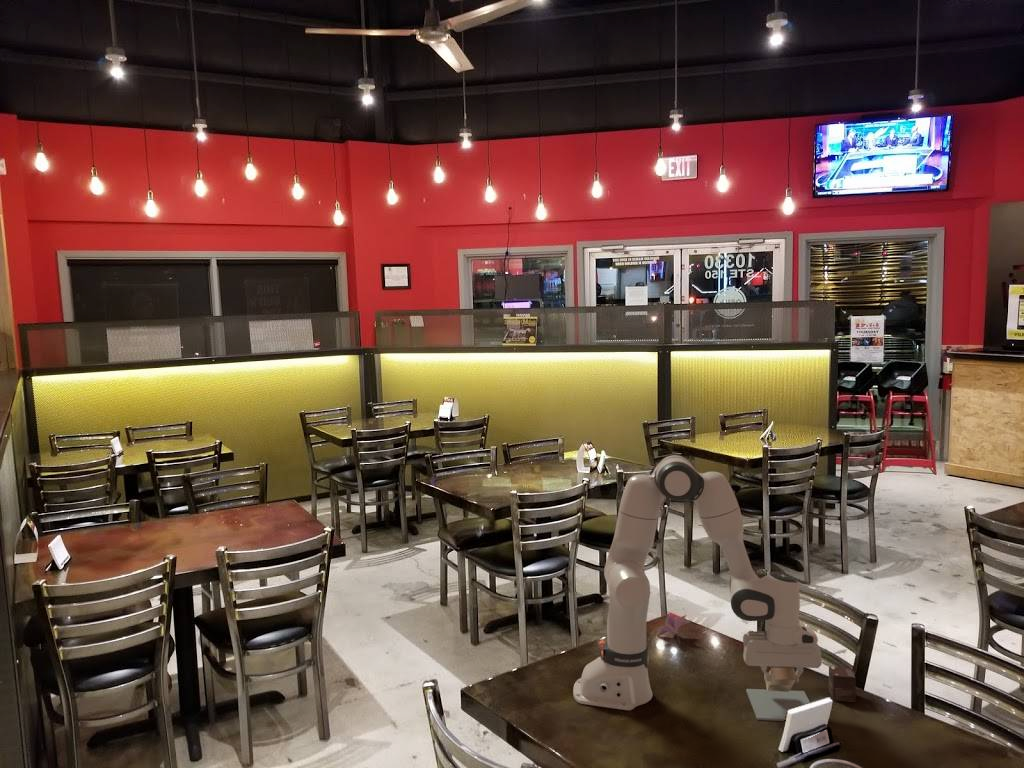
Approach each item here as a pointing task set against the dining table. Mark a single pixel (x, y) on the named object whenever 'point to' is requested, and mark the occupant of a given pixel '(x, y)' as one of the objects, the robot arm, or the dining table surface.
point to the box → (842, 684)
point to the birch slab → (781, 679)
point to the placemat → (774, 703)
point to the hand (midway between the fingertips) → (781, 680)
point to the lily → (672, 625)
